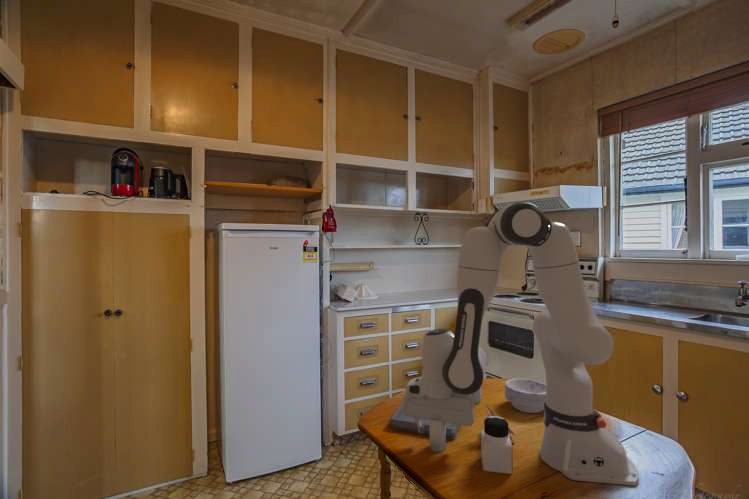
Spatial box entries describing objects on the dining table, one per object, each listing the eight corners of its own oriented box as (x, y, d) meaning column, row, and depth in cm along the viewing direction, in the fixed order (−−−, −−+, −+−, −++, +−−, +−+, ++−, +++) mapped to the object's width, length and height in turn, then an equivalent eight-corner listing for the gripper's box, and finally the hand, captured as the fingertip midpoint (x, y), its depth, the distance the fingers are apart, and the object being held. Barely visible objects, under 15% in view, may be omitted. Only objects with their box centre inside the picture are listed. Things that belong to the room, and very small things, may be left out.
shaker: (447, 445, 108) (447, 410, 108) (444, 453, 104) (444, 417, 104) (431, 442, 110) (431, 408, 110) (427, 450, 106) (427, 414, 105)
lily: (514, 459, 103) (527, 425, 105) (473, 437, 106) (486, 404, 108) (506, 450, 114) (517, 419, 116) (469, 430, 117) (481, 400, 119)
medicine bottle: (512, 474, 94) (512, 427, 94) (483, 471, 96) (483, 424, 95) (508, 458, 101) (508, 414, 101) (481, 455, 103) (480, 412, 102)
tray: (462, 416, 126) (462, 407, 126) (455, 439, 111) (455, 429, 111) (404, 407, 133) (404, 398, 133) (390, 428, 118) (390, 418, 118)
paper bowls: (554, 404, 135) (554, 382, 135) (547, 421, 122) (547, 397, 122) (510, 395, 143) (510, 374, 143) (499, 410, 130) (499, 387, 130)
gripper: (476, 387, 106) (476, 435, 106) (406, 378, 113) (406, 424, 113) (474, 395, 100) (474, 447, 100) (400, 386, 107) (400, 434, 107)
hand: (437, 434), depth 107 cm, fingers open, 8 cm apart
